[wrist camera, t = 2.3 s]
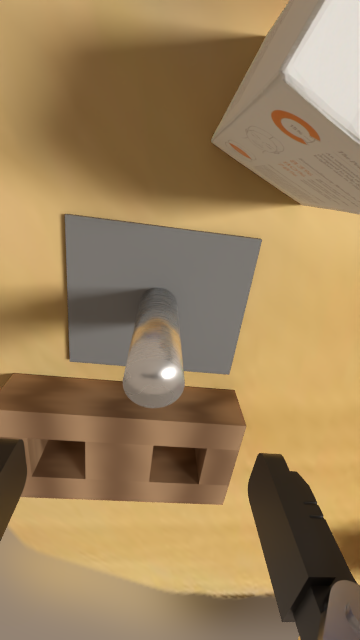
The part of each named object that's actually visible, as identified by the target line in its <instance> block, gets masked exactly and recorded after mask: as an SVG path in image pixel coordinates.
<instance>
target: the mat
mask: <svg viewBox="0 0 360 640" xmlns="http://www.w3.org/2000/svg"><path fill="white" fill-rule="evenodd" d="M65 233H66V263H67V293H68V323H69V353H70V362H82V363H94V364H106V365H118V366H126V363H127V359H128V354H129V349H130V344H131V340H132V335H133V330H134V326H135V321H136V316H137V311H138V307H139V302H140V299H141V297H142V295H143V294H144V293H145V292H146V291H147V290H149V289H152V288H157V287H158V288H164V289H167V290H169V291H170V292H171V293H172V294H173V295H174V296H175V298H176V301H177V308H178V318H179V329H180V339H181V350H182V360H183V371H192V372H204V373H216V374H228V375H229V374H230V369H231V365H232V361H233V357H234V353H235V349H236V345H237V341H238V336H239V332H240V328H241V324H242V320H243V316H244V312H245V308H246V304H247V299H248V295H249V291H250V287H251V283H252V279H253V275H254V271H255V267H256V262H257V258H258V254H259V250H260V246H261V242H262V239H258V238H251V237H243V236H235V235H227V234H219V233H212V232H204V231H196V230H188V229H181V228H173V227H165V226H157V225H149V224H142V223H134V222H126V221H118V220H111V219H103V218H95V217H87V216H79V215H72V214H65Z"/></svg>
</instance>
